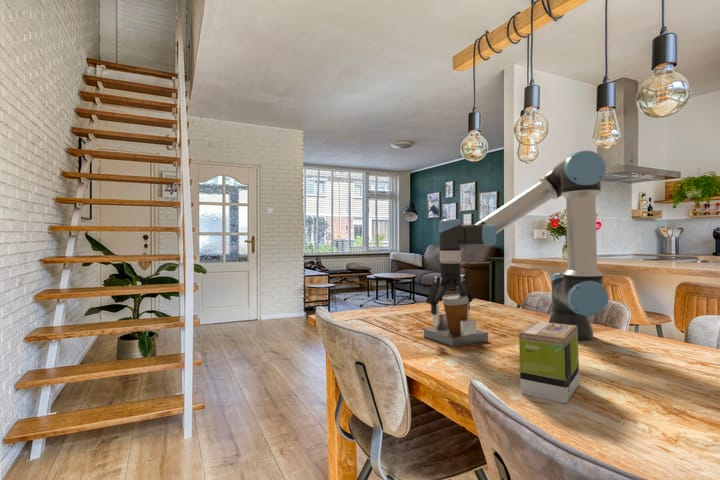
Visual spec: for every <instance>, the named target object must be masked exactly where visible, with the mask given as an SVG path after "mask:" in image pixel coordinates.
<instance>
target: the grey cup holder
mask: <svg viewBox="0 0 720 480" xmlns="http://www.w3.org/2000/svg"><path fill="white" fill-rule="evenodd" d="M434 325H435V326H433V327H425V328H423V338H426V339H429V340H431V341H434V342H437V343H440V344H442V345H445V346H449V347H451V348H457V347H463V346H467V345H468V346H469V345H473V344H479V343H484V342H489V332H487V331H483V330H479V329H477V318H476V319H474V318H469V320H463V321H461V332H453V331H450V330H449V327H448V323H447V318H446V313H445V312H442V313H439V324H434Z"/></svg>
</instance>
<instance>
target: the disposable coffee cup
mask: <svg viewBox="0 0 720 480" xmlns="http://www.w3.org/2000/svg"><path fill="white" fill-rule="evenodd" d="M468 301H469V299H468V297H467V296H466V295H465V296H461V295H460V294H459V293H458V294H457V293H456V294H454V293H453V294H448V295H443V296H442V299H441V303H442V304H443V308H444V313H446V318H447V323H448V327H449V330H450V331H453V332H461V321H463V320H467V310H468Z"/></svg>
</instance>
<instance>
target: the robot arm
mask: <svg viewBox="0 0 720 480" xmlns="http://www.w3.org/2000/svg"><path fill="white" fill-rule="evenodd" d="M606 165H607V164H606V163H605V160H604V158H603V157H602V156H601V155H600V154H599V153H597V152H595V151H592V150H579V151H577V152H574V153H571V154H570V155H569V156H567V157H566V158H565V159H563V160H561V161H560V162H559V163H557V164H556V166H554V167H553V168H552V169H551V170H550V171H548V172H547V173H545V174H544V175H543V176H541V177H540V178H539V181H538V182H537V183H536V184H534V185H533V186H531V187H529V188H528V189H527V190H525V191H523V192H522V193H520V194H519V195H517V196H516V197H514V198H513V199H511V200H510V201H508V202H507V203H505V204H504V205H501V206H500V207H499V208H497V209H495V210H494V211H493V212H491V213H490V214H488V215H486V216H485V217H484V218H482V219H481V220H479V221H477V222H476V223H475V224H462V223H461V220H460V219H459V218H458V219H454V218H453V219H452V218H450V219H449V218H448V219H441V220H440V221H439V224H438V225H439V226H438V239H439V241H438V243H439V245H438V246H439V262H440V263H439V274H440V276H433V278H432V284H431V287H430V290H429V292H428V295H427V298H426V301H425V303H426V304H429V305H430V309H431V310H430V312H431V313H430V314H431V315H432V324H434V325H435V324H439V314H440V305H439V303H440V301H441V300H442V298H443V297H444V294H445V292H446V291H447V290H450V289H451V290H452V289H455V290H456V291H457V293H458V294H460V295H461V296H465V295H466V296H467V297H468V299H469V301H468V310H467V320H470V317H469V316H470V314H469V313H470V309H471V307H470V306H471V303H472V302H473V300H474V299H475V296H474V293H473V292H472V291H473V290H472V289H471V286H470V283H469V281H468V275H467V274H461V273H462V264H461V262H462V248H461V247H462V246H474V247H475V246H478V247H479V246H484V247H487V246H495V244H496V242H497V234H498V233H500V232H501V231H503V230H504V229H506V228H508V227H509V226H510V225H512V224H514V223H515V222H518V220H520V219H522V218H524V217H525V216H527V215H528V214H529V213H532V211H534V210H536V209H538V208H539V207H541V206H542V205H544V204H545V203H547V202H549V201H551V200H557V199H558V198H560V197H562V196H563V198H565V201H566V202H565V204H566V209H565V210H566V211H565V212H566V251H567V253H566V254H567V257H566V258H567V268H566V270H565V271H564V272H563V273H561V272H557V273H553V274H552V276H551V281H550V284H551V314H550V318H549V321H548V323H557V324H566V325H576V326H577V328H578V341H589V340H593V338H594V330H593V328H592V325H591V322H590V320H589V317H592V316H596V315H598V314H601V313H602V312H603V311H604V310H605V309H606V308H607V307H608V305H609V300H610V299H609V297H610V295H609V292H608V290H607V289H606V287H605V286H604V279H603V277H604V275H603V273H602V272H601V271H599V269H598V257H597V256H598V255H597V253H598V252H597V251H598V250H597V248H598V247H597V213H596V212H597V207H596V206H597V205H596V197H597V196H598V195H599V194H600V193H601V191H602V189H601V187H602V186H601V180H602V179H603V178H604V176H605V174H606V170H607V166H606Z"/></svg>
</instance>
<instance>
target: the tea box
mask: <svg viewBox="0 0 720 480" xmlns="http://www.w3.org/2000/svg"><path fill="white" fill-rule="evenodd" d="M518 334H519V335H518V336H519V337H518V338H519V339H518V340H519V342H518V344H519V347H518V348H519V376H520V377H519V378H520V379H519V381H520V383H519V384H520V394H522V395H526V396H530V397H533V398H536V399H537V398H538V399H543V400H546V401H551V402H556V403H561V404H567V403H568V401H569V400H570V398H571V397H572V395H573V393H574V392H575V391H576V390H577V388H578V387H579V385H580V362H579V359H580V358H579V340H578V328H577V326H576V325H566V324H557V323H549V322H545V321H538V320H537V321H535V322H533V323H532V324H530V325H529V326H527V327H526V328H524V329H523V330H521V331H519V333H518Z"/></svg>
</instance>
